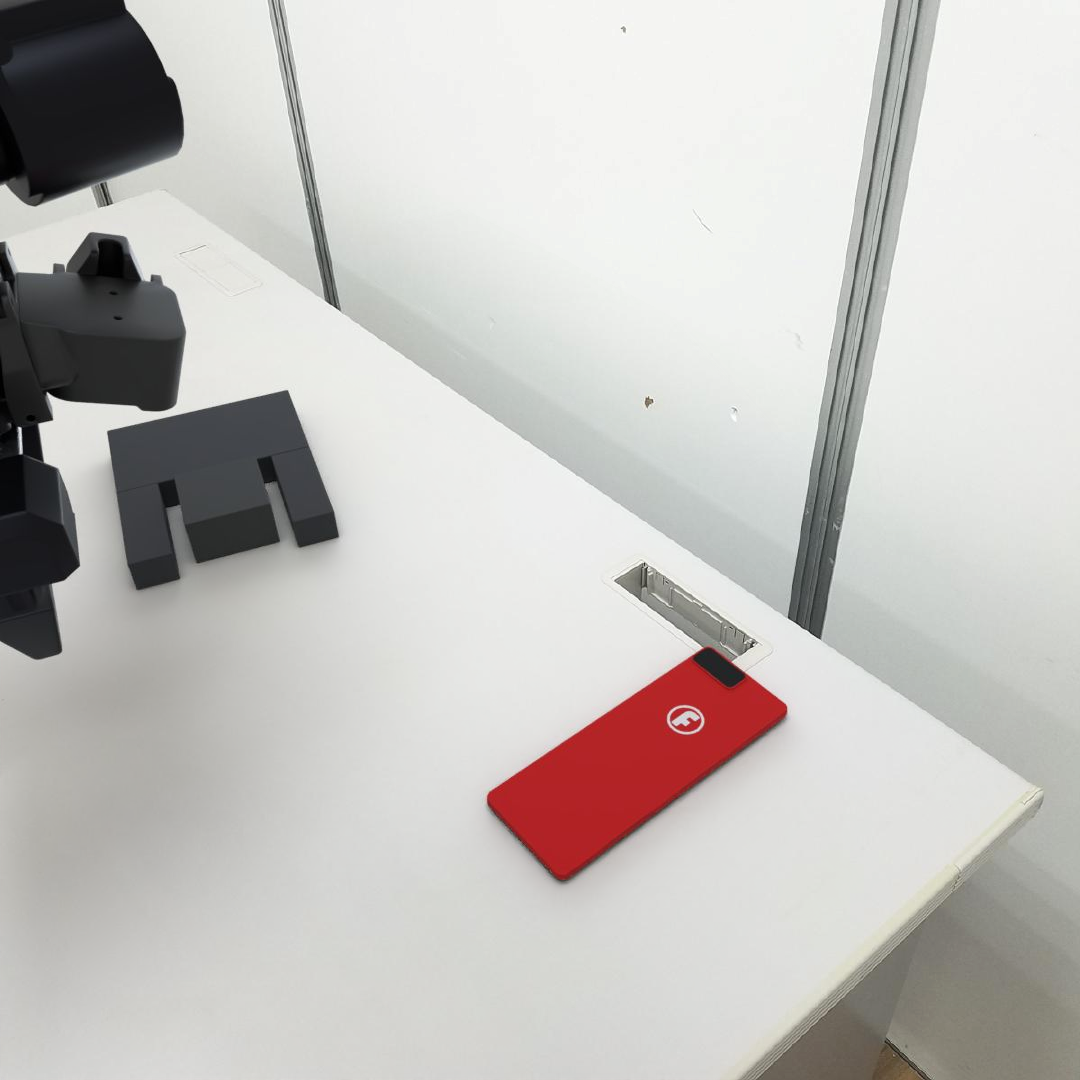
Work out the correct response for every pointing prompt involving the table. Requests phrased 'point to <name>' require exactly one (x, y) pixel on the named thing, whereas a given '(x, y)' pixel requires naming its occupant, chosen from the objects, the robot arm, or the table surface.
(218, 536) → the black block
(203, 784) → the table surface
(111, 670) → the table surface
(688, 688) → the electronic device
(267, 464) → the dark gray pronged block
